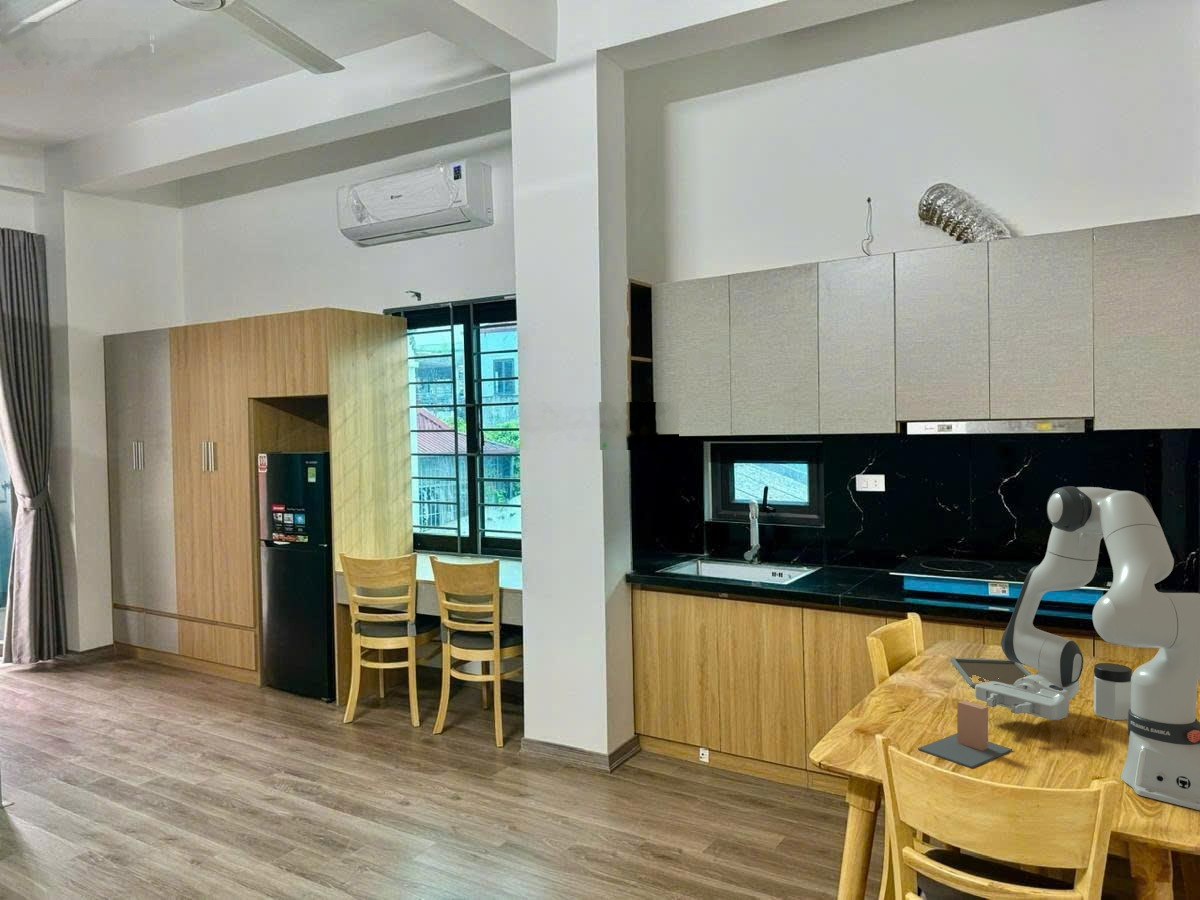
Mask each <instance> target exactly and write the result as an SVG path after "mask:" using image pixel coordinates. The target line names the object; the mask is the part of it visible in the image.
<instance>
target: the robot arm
mask: <svg viewBox="0 0 1200 900" xmlns="http://www.w3.org/2000/svg"><path fill="white" fill-rule="evenodd" d="M1046 515H1047V518H1048V520H1049V523H1050V524H1051V525H1052V527H1051V531H1050V534H1049V538H1048V542H1047V548H1046V552H1045V556H1044V558H1043V559H1042V561H1041V562H1040V564H1038V565H1034V566H1033V567H1031V569H1029V571H1028V573H1027V575H1026V577H1025V578H1024V582H1023V584H1022V586H1021V590H1020V591H1019V592H1020V593H1019V595H1018V598H1017V601H1016V603H1015V607H1014V609H1013V611H1012V615H1011V617H1010V620H1009V622H1008V624H1007V626H1006V628H1005V630H1004V632H1003V634H1002V636H1001V640H1000V647H1001V649H1002V651H1003V654H1004V656H1005V657H1006V658H1007V659H1008V660H1010V661H1013V662H1017V663H1020V664H1022V665H1023V666H1024V665H1025V666H1028V667H1030V668H1033V669H1035V670H1037V671H1036V673H1031V674H1032V675H1029V676H1026V677H1023V678H1020V679H1018V680H1017V681H1016V682H1015V683H1014V685H1009V684H1005V683H1001V682H996V681H989V682H984V683H979V684H976V686H975V688H974V697H975V699H976V700H978V701H981V702H985V703H986V707H992V708H994V707H997V706H1000V707H1004V708H1007V709H1011V710H1010V711H1011V713H1013V714H1017V715H1019V714H1029V715H1033V716H1036V717H1039V718H1043V719H1047V720H1051V721H1060V720H1062V719H1065V718H1068V716H1069V710H1070V701H1071V700H1072V699H1073V698H1074V697H1075V696H1076V695H1077V693H1078V691H1079V690H1080V677H1081V675H1082V672H1083V669H1084V656H1083V654H1082V651H1081V648H1080V646H1079V645H1078V644H1077V643H1076V642H1075V641H1074V640H1071V639H1070V638H1069V639H1068V638H1065V637H1063V636H1060V635H1057V634H1054V633H1050V632H1047V631H1044V630H1041V629H1039V628H1036V627H1035V626H1034V625H1035V624H1033V623H1034V619H1035V616H1036V613H1037V610H1038V608H1039V605H1040V602H1041V600H1042V598H1043V596H1044V595H1045V594H1046V593H1048V592H1057V591H1060V592H1061V591H1070V590H1071V591H1072V590H1076V589H1079V588H1083V587H1084V586H1087V584H1089V583H1090V582H1091V581H1092V580H1093V579H1094V577H1095V575H1096V571H1097V565H1098V562H1099V555H1100V545H1101V540H1102V539H1103V541H1104V544H1105V547H1106V550H1107V553H1108V556H1109V559H1110V565H1111V567H1112V573H1113V574H1112V575H1113V577H1112V583H1111V586H1110V588H1109V589H1108V591H1106V593H1105V594H1103V595H1102V596H1101V597H1100V598H1098V600H1097V601H1096V603H1095V604H1094V606H1093V609H1092V615H1091V617H1092V623H1093V627H1094V629H1095V631H1096V633H1097V634H1098V635H1099V636H1100V638H1101V639H1102V640H1103V641H1105V642H1106V643H1109V644H1114V645H1118V646H1124V647H1128V648H1153V649H1158V652H1156V654H1155V656H1153V658H1151V659H1150V660H1149V661H1147V662H1145V663H1143V664H1140V665H1139V666H1137V667H1136V668H1135V669H1134V671H1132V676H1131V709H1129V711H1128V720H1126V721H1127V724H1126V725H1127V735H1128V736H1129V737H1128V746H1127V753H1126V756H1125V757H1126V758H1125V762H1124V765H1123V769H1122V770H1121V773H1120V777H1121V780H1122V781H1123V782H1124V783H1126V784H1127V785H1129V786H1130V787H1131V788H1132V789H1133V791H1134V792H1135V793H1136V795H1139V796H1142V797H1144V798H1145V797H1146V798H1148V799H1149V798H1150V799H1154V800H1157V801H1162V802H1165V803H1169V804H1173V805H1177V806H1181V807H1185V808H1190V809H1193V810H1197V811H1200V721H1199V720H1198V719H1197V718H1196V714H1197V713H1196V711H1197V697H1198V696H1197V695H1198V685H1199V680H1200V593H1198V592H1197V593H1196V592H1162V591H1158V590H1157V589H1156V586H1155V584H1157V583H1160V582H1161V581H1163V580H1165V579H1166V578H1167V577H1168V576H1170V574H1171V572H1172V571H1173V569H1174V564H1175V559H1174V557H1173V553H1172V552H1171V549H1170V545H1169V544H1168V541H1167V538H1166V536H1165V534H1164V531H1163V527H1162V526H1161V524H1160V521H1159V519H1158V517H1157V516H1156V514H1155V512H1154V510H1153V506H1152V504H1151V502H1150V500H1149V498H1147V497H1146V496H1145V495H1143V494H1141V493H1139V492H1135V491H1131V490H1118V489H1110V488H1103V487H1099V486H1097V487H1096V486H1095V487H1094V486H1077V487H1076V486H1073V485H1072V486H1071V485H1070V486H1062V487H1058V488H1055V489H1054V490H1053V492H1052V493H1051V494H1050V495H1049V497H1048V499H1047V504H1046Z"/></svg>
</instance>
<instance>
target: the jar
mask: <svg viewBox="0 0 1200 900" xmlns="http://www.w3.org/2000/svg"><path fill="white" fill-rule="evenodd" d="M1132 674H1133V670H1132V668H1131V667H1129V666H1127V665H1122V664H1118V663H1111V662H1099V663H1096V664H1094V667H1093V711H1094V714H1095V716H1097V717H1101V718H1105V719H1109V720H1112V721H1125V720H1126V721H1128V711H1129V709H1131V676H1132Z"/></svg>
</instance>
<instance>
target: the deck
mask: <svg viewBox="0 0 1200 900" xmlns="http://www.w3.org/2000/svg"><path fill="white" fill-rule="evenodd" d="M956 704H957V711H956V712H957V727H956V728H957V729H956V730H957V732H956V733H957V743H960V744H963V745H966V746H969V747H972V748H975V749H978V750H981V751H983V750H985V749H987V748H988V742H989V706H987V705H986V706H985V705H983V704H979V703H975V702H972V701H968V700H964V699H963V700H959V701H957V703H956Z"/></svg>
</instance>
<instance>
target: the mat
mask: <svg viewBox="0 0 1200 900" xmlns="http://www.w3.org/2000/svg"><path fill="white" fill-rule="evenodd" d="M917 751H921V752H924V753H926V754H929V755H932V756H935V757H938V758H940V759H943V760H946V761H950V762H952V763H955V764H958V765H961V766H964V767H967V768H970V769H973V768H976V767H978V766H981V765H983V764H985V763H988V762H989V761H992V760H994V759H996V758H999V757H1001V756H1003V755H1006V754H1009V753H1010V752H1013V749H1012V748H1010V747H1007V746H1003V745H1000V744H998V743H997V744H996V743H993V742H991V741H988V748H987V749H985V750H983V751H981V750H978V749H975V748H972V747H969V746H966V745H963V744H960V743H957V732H956V733H954V734H951V735H949V736H946V737H943V738H941V739H938V740H935V741H933V742H929V743H928V744H925V745H923V746H919V747H918V748H917Z"/></svg>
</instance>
